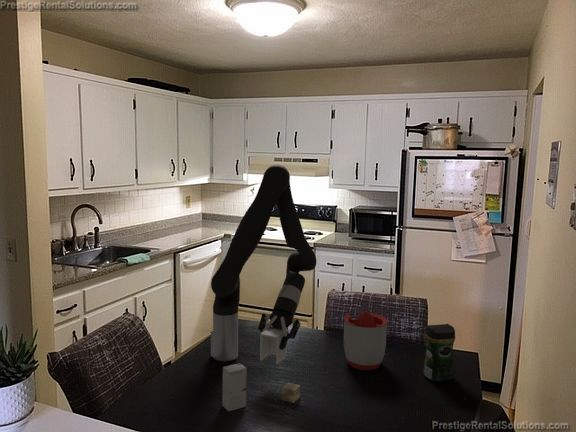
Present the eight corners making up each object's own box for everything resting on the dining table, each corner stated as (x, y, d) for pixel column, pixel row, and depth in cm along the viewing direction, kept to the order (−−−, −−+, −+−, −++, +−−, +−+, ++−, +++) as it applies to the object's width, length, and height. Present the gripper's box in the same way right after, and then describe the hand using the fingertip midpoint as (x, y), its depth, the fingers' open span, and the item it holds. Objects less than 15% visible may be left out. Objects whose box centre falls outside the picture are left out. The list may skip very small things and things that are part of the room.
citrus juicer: (366, 350, 183) (368, 300, 180) (394, 369, 167) (397, 314, 165) (331, 357, 176) (333, 305, 173) (357, 377, 160) (360, 320, 158)
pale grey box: (260, 360, 152) (260, 333, 151) (269, 353, 158) (269, 327, 157) (277, 364, 149) (277, 337, 148) (286, 356, 155) (286, 330, 154)
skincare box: (228, 412, 137) (228, 372, 135) (221, 405, 141) (221, 366, 139) (247, 406, 140) (247, 367, 139) (240, 399, 144) (240, 362, 142)
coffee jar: (443, 370, 167) (447, 320, 164) (456, 381, 159) (460, 328, 157) (419, 373, 164) (422, 321, 162) (431, 383, 157) (434, 330, 154)
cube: (282, 400, 145) (282, 387, 144) (288, 394, 148) (288, 382, 148) (294, 403, 143) (294, 390, 142) (299, 397, 146) (299, 385, 146)
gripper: (265, 293, 161) (247, 337, 152) (303, 298, 155) (287, 346, 146) (272, 303, 166) (255, 347, 157) (309, 309, 160) (294, 355, 151)
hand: (271, 346), depth 152 cm, fingers closed on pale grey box, 6 cm apart
